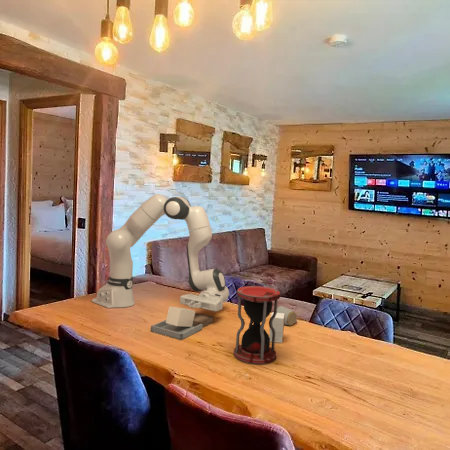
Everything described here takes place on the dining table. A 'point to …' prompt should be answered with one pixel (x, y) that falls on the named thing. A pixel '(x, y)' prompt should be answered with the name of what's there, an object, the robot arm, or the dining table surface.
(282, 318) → the small box
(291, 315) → the ceramic mug
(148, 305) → the dining table surface
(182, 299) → the robot arm
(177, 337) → the gray tray
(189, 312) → the cream block
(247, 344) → the hourglass
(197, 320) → the brown flat block
